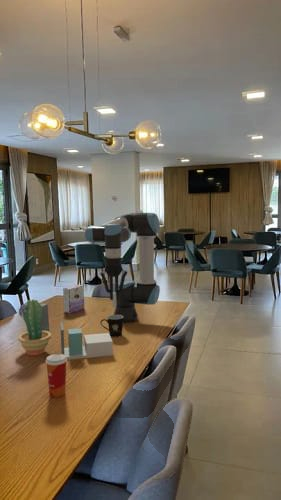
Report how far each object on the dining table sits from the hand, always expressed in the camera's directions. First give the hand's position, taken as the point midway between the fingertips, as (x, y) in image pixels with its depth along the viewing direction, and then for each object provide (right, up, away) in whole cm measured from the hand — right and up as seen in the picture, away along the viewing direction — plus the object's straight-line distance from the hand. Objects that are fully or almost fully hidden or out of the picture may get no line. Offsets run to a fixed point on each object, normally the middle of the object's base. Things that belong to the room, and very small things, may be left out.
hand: (114, 306), depth 181 cm
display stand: (-13, -22, -1) cm, 26 cm away
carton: (-15, -16, -3) cm, 22 cm away
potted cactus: (-38, -22, +1) cm, 44 cm away
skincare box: (-42, -19, +28) cm, 54 cm away
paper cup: (-18, -27, -40) cm, 51 cm away
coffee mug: (-2, -19, +24) cm, 31 cm away
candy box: (-32, -14, +72) cm, 80 cm away
